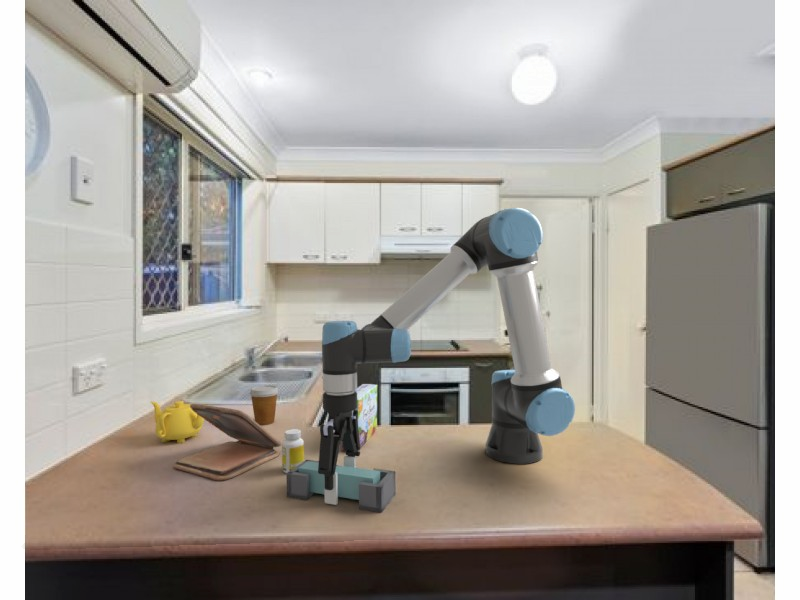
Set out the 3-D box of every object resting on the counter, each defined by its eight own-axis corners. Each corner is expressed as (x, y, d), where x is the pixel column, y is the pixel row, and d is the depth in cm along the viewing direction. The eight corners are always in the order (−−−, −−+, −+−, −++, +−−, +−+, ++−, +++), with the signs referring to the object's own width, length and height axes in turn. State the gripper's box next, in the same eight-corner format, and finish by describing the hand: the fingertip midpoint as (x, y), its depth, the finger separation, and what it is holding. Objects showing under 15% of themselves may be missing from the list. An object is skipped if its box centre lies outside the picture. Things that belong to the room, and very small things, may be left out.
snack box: (359, 453, 123) (358, 399, 122) (340, 451, 124) (339, 398, 124) (378, 429, 143) (377, 383, 143) (361, 428, 145) (361, 382, 144)
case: (285, 455, 122) (284, 397, 122) (223, 484, 104) (221, 416, 104) (233, 444, 132) (232, 391, 132) (168, 469, 113) (166, 407, 113)
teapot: (130, 445, 130) (129, 407, 130) (167, 430, 145) (166, 395, 144) (188, 450, 126) (188, 410, 126) (221, 433, 140) (220, 398, 140)
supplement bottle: (308, 467, 113) (307, 429, 113) (296, 475, 108) (296, 435, 108) (290, 464, 115) (289, 427, 115) (277, 472, 110) (277, 433, 109)
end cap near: (359, 508, 91) (358, 484, 91) (374, 491, 99) (374, 468, 99) (381, 512, 89) (381, 487, 89) (395, 494, 97) (395, 471, 97)
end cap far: (325, 483, 103) (325, 461, 103) (306, 500, 95) (306, 476, 95) (306, 481, 105) (306, 459, 104) (286, 496, 97) (286, 473, 97)
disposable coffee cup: (284, 421, 154) (284, 386, 153) (263, 428, 145) (262, 392, 145) (266, 417, 159) (265, 384, 158) (244, 423, 151) (243, 389, 150)
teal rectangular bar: (380, 493, 96) (380, 471, 96) (373, 502, 92) (373, 478, 92) (308, 482, 102) (307, 461, 102) (298, 490, 98) (298, 467, 98)
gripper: (345, 380, 108) (346, 472, 108) (298, 401, 88) (300, 514, 88) (374, 382, 105) (375, 476, 106) (332, 404, 85) (333, 520, 86)
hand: (340, 493), depth 97 cm, fingers open, 8 cm apart
